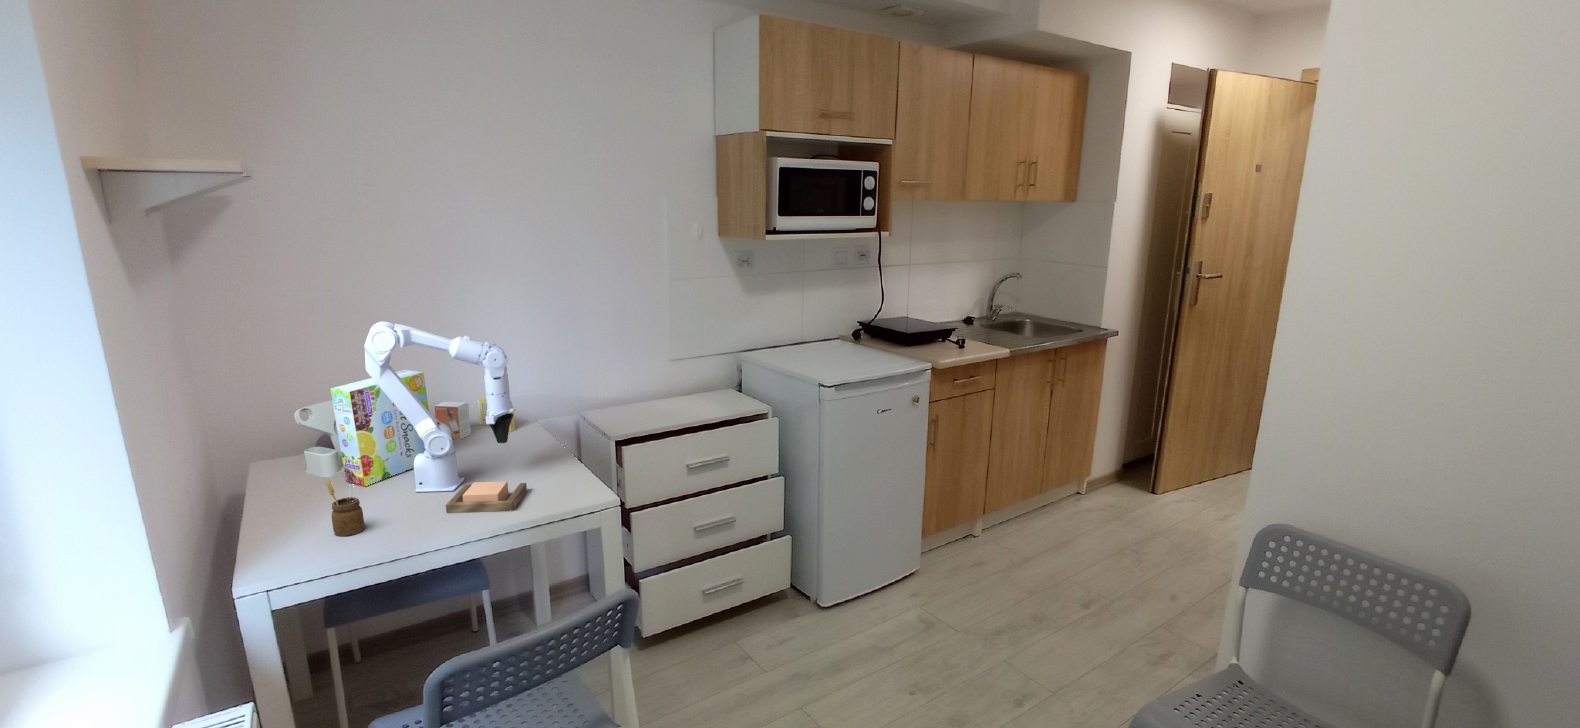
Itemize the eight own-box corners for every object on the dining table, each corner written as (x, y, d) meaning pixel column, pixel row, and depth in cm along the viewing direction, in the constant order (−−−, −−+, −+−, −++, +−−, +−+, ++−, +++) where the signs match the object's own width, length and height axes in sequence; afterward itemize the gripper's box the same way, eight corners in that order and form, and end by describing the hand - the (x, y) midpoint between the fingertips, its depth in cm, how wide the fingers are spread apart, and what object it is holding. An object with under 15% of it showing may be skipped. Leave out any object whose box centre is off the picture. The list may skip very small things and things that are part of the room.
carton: (464, 511, 173) (462, 495, 172) (475, 497, 181) (473, 482, 180) (498, 510, 174) (497, 494, 173) (508, 496, 182) (507, 481, 181)
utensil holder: (357, 536, 160) (349, 484, 157) (327, 537, 159) (319, 485, 157) (370, 524, 166) (363, 474, 163) (341, 525, 165) (333, 475, 162)
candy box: (516, 430, 233) (513, 405, 231) (510, 432, 231) (508, 406, 229) (484, 422, 241) (481, 397, 239) (478, 423, 239) (475, 399, 238)
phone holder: (327, 479, 193) (317, 413, 189) (301, 473, 196) (291, 408, 192) (385, 458, 208) (377, 396, 204) (361, 453, 212) (352, 393, 208)
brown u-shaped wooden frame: (446, 513, 172) (445, 505, 171) (465, 492, 184) (464, 484, 183) (512, 511, 173) (511, 503, 172) (526, 490, 185) (526, 482, 184)
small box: (437, 438, 224) (433, 405, 222) (448, 433, 230) (444, 400, 228) (461, 440, 223) (457, 406, 221) (471, 434, 229) (468, 401, 226)
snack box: (415, 456, 209) (405, 368, 204) (437, 460, 206) (427, 371, 200) (342, 482, 190) (328, 386, 184) (364, 488, 187) (351, 390, 181)
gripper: (504, 399, 182) (509, 451, 185) (521, 384, 196) (526, 433, 199) (475, 400, 182) (480, 452, 185) (495, 385, 196) (499, 433, 199)
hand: (502, 442), depth 192 cm, fingers closed
